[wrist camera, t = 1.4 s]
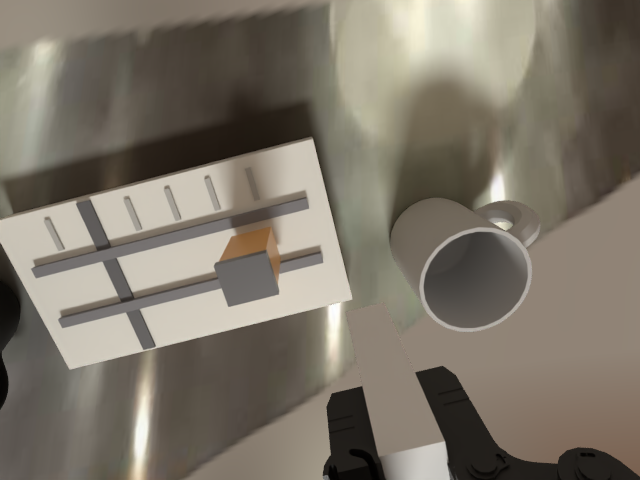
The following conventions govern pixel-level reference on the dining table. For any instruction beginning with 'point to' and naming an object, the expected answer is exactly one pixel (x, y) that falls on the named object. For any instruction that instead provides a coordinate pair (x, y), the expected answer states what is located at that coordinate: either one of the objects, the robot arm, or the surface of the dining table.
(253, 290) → the fader cap
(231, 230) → the console
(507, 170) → the dining table surface
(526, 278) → the cup
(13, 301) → the mug
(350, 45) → the dining table surface
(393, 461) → the robot arm
